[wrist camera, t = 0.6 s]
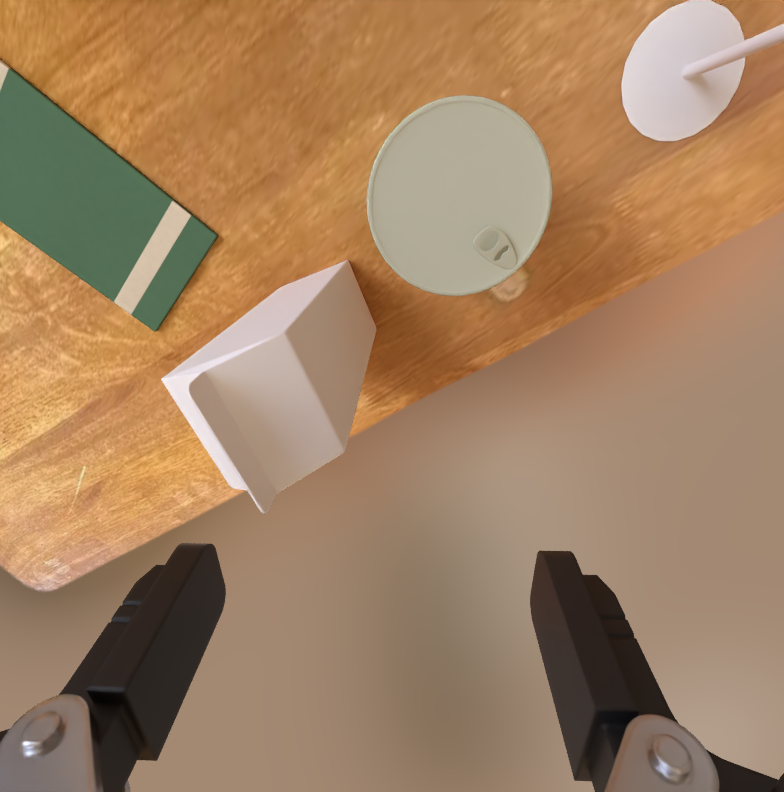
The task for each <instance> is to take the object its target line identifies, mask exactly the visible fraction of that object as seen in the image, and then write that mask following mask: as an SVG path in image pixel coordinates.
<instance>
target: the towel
mask: <svg viewBox="0 0 784 792" xmlns="http://www.w3.org/2000/svg"><path fill="white" fill-rule="evenodd" d="M0 221H1V222H3V223H4V224H5V225H7V226H8V227H10V228H11V229H12V230H14V231H15V232H17V233H18V234H19V235H21V236H22V237H24V238H25V239H26V240H28V241H29V242H31V243H32V244H33V245H35V246H36V247H38V248H39V249H40V250H42V251H43V252H45V253H46V254H47V255H49V256H50V257H52V258H53V259H54V260H56V261H57V262H58V263H60V264H61V265H63V266H64V267H65V268H67V269H68V270H70V271H71V272H72V273H74V274H75V275H77V276H78V277H79V278H81V279H82V280H84V281H85V282H86V283H88V284H89V285H91V286H92V287H93V288H95V289H96V290H98V291H99V292H100V293H102V294H103V295H105V296H106V297H107V298H109V299H110V300H111V301H113V302H114V303H115V304H117V305H118V306H120V307H121V308H122V309H124V310H125V311H127V312H128V313H129V314H131V315H132V316H134V317H135V318H137V319H138V320H139V321H141V322H142V323H144V324H145V325H146V326H148V327H149V328H151V329H152V330H153V331H157V330H158V329H159V327H160V326H161V324H162V322H163V321H164V319H165V318H166V316H167V315H168V313H169V312H170V310H171V309H172V307H173V305H174V304H175V302H176V301H177V299H178V298H179V296H180V295H181V293H182V291H183V290H184V288H185V287H186V285H187V284H188V282H189V281H190V279H191V277H192V276H193V274H194V273H195V271H196V270H197V268H198V267H199V265H200V263H201V262H202V260H203V259H204V257H205V256H206V254H207V253H208V251H209V249H210V248H211V246H212V245H213V243H214V242H215V240H216V239H217V237H218V235H217V234H216V233H215V232H214V231H212V230H211V229H210V228H209V227H207V226H206V225H205V224H204V223H202V222H201V221H200V220H199V219H197V218H196V217H195V216H194V215H193V214H191V213H190V212H189V211H188V210H186V209H185V208H184V207H183V206H181V205H180V204H179V203H178V202H176V201H175V200H174V199H173V198H171V197H170V196H169V195H168V194H167V193H165V192H164V191H163V190H162V189H160V188H159V187H158V186H157V185H155V184H154V183H153V182H152V181H150V180H149V179H148V178H147V177H145V176H144V175H143V174H142V173H141V172H139V171H138V170H137V169H136V168H134V167H133V166H132V165H131V164H129V163H128V162H127V161H126V160H124V159H123V158H122V157H121V156H119V155H118V154H117V153H116V152H114V151H113V150H112V149H111V148H110V147H108V146H107V145H106V144H105V143H103V142H102V141H101V140H100V139H98V138H97V137H96V136H95V135H93V134H92V133H91V132H90V131H88V130H87V129H86V128H85V127H84V126H82V125H81V124H80V123H79V122H77V121H76V120H75V119H74V118H72V117H71V116H70V115H69V114H67V113H66V112H65V111H64V110H62V109H61V108H60V107H59V106H58V105H56V104H55V103H54V102H53V101H51V100H50V99H49V98H48V97H46V96H45V95H44V94H43V93H41V92H40V91H39V90H38V89H36V88H35V87H34V86H33V85H32V84H30V83H29V82H28V81H27V80H25V79H24V78H23V77H22V76H20V75H19V74H18V73H17V72H15V71H14V70H13V69H12V68H10V67H9V66H8V65H7V64H6V63H4V62H3V61H2V60H1V59H0Z"/></svg>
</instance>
